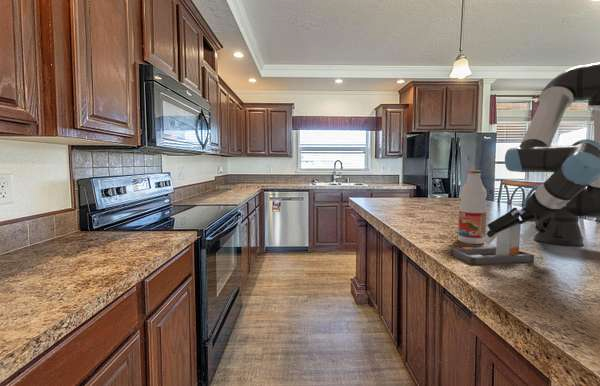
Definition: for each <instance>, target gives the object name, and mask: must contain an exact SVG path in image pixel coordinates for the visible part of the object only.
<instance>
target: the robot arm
mask: <svg viewBox="0 0 600 386" xmlns="http://www.w3.org/2000/svg"><path fill="white" fill-rule="evenodd" d="M579 101H580V102H582V101H583V102H584V101H588V104H587V105H588V107H589V108H590V109H592V110H593V111H594V112H593V116H594V117H593V139H586V138H585V139H580V140H578V141H576V142H574V143H572V144H571V145H556V146H555V145H553V146H551V144H552V142H553V139H554V138H555V135H556V133H557V131H558V128H559V127H560V123H561V121H562V120H563V116H564V114H565V112H566V109H567V108H569V107H570V106H571V105H572V104H573V103H575V102H579ZM538 102H539V104H538V106H537V109H536V111H535V113H534V115H533V117H532V119H531V121H530V122H529V126H528V128H527V130H526V132H525V134H524V137H523V138H522V141H521V143H520V145H519V146H518V147H517V146H515V147H509V148H508V149H507V150H506V152H505V153H504V154H505V155H504V165H505V168H506V170H507V171H509V172H517V173H552V174H551V175H550V176H549V177H548V178H547V179H546V180H545V181H544V182H543V183H542V184H540V186H539V187H538V188H537V189H536V190H535V191H534V192H533V193H532V194H531V195H530V196H529V197H528V198H527V199H526V201H525V206H524V207H523V208H521V209H518V208H517V207H513V208H511V209H510V211H508V212H506V213H504V214H503V215H501V216H500V217H498V218H496V219H495V220H493V221H492V222H491V221H490V223H488V224H486V227H488V229H489V230H488V231H487V232H486V233H485V236H484V237H483V238H484V240H485V242H484V243H485V244H486V245H490V243H492V242H493V241H494V240H495V239H497V236H498V235H499V234H500V233H499V232H500V231H503V230H505V229H507V228H510V227H512V226H514V225H517V224H521V225H523V224H524V223H528V222H531V223H534V224H532V225H530V226H529V227H528V228H527V229H526V230H524V232H523V233H520V239H521V240H522V242H523V243H524V244H526V243H527V242H529V241H531V239H532V238H533V239H534V240H535V241H538V242H541V243H544V244H551V245H558V246H570V247H571V246H573V247H575V246H582V245H584V237H583V236H582V235H583V234H582V230H581V228H580V224H579V219H580V217H581V218H591V219H593V218H594V219H600V61H599V62H594V63H590V64H583V65H577V66H574V67H571V68H569V69H567V70H564V71H563V72H561V73H560V74H558V75H557V76H555V77H554V78H553V79H552V80H550V82H548V83H547V84H546V85H545V87H544V88H543V89H542V90H541V93H540V95H539V96H538Z"/></svg>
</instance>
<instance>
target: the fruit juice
mask: <svg viewBox="0 0 600 386" xmlns="http://www.w3.org/2000/svg"><path fill="white" fill-rule="evenodd" d="M466 174H467V179H466V180H465V183H464V185H463V186H462V188H461V190H460V192H459V195H460V198H461V201H460V202H459V205H458V206H459V208H458V230H457V231H458V237H457V238H458V241H459V242H460V243H463V244H464V243H465V244H469V245H482V244H485V243H486V242H485V240H484V238H483V237H484V236H485V235H486V234H487V232H486V229H487V204H486V199H487V196H488V195H487V194H488V192H487V189H486V188H485V186H484V185H483V182H482V179H481V175H482V170H480V169H479V170H478V169H477V170H475V169H474V170H473V169H472V170H470V169H469V170H467V171H466Z"/></svg>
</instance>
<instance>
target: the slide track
mask: <svg viewBox="0 0 600 386" xmlns="http://www.w3.org/2000/svg"><path fill="white" fill-rule="evenodd" d="M450 255H451V256H453V257H454V258H457V259H459V260H461V261H464V262H466V263H468V264H470V265H472V266H473V265H486V264H487V265H489V264H490V265H491V264H511V263H528V262H530V261H531V262H535V254H532V253H529V252H526V251H523V250H520V249H519V254H516V255H496V245H493V246H488V247H487V246H484V247H483V246H482V247H471V246H466V247H464V246H463V247H461V248H460V247H459V248H450ZM531 262H530V263H531Z"/></svg>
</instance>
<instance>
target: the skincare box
mask: <svg viewBox="0 0 600 386" xmlns="http://www.w3.org/2000/svg"><path fill="white" fill-rule="evenodd" d="M521 225H522V224H517V225H514V226H512V227H510V228H507V229H505V230H503V231H500V232H499V233H500V234H499V235H498V236H497V237H496V243H495V244H496V245H495V246H496V254H495V256H496V255H516V254H519V250H520V240H521V237H520V235H521Z"/></svg>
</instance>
